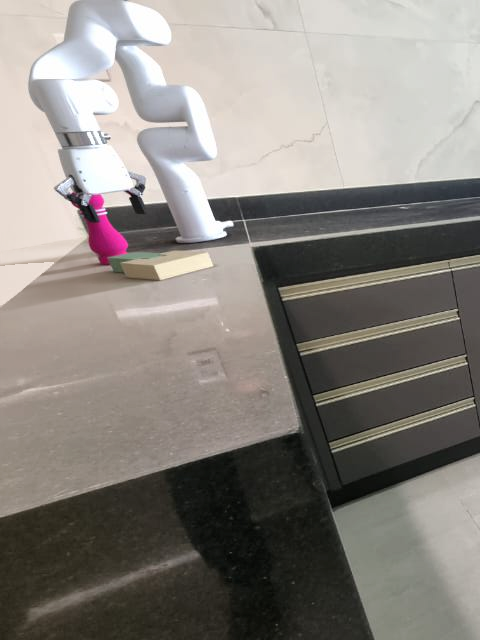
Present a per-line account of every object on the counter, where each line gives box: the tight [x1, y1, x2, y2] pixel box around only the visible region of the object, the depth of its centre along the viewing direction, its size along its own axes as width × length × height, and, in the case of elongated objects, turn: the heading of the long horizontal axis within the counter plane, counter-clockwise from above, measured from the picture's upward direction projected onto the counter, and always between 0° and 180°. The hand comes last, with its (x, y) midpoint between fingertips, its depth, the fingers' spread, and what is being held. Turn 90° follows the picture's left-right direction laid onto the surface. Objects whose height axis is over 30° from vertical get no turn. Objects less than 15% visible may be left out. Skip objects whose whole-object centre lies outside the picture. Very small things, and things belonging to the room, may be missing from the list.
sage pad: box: [108, 251, 163, 273], centre depth 129 cm, size 6×13×4 cm, turn 71°
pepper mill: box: [70, 191, 129, 266], centre depth 135 cm, size 7×7×20 cm
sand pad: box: [120, 249, 214, 281], centre depth 126 cm, size 12×12×4 cm
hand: (119, 218), depth 126 cm, fingers open, 9 cm apart
